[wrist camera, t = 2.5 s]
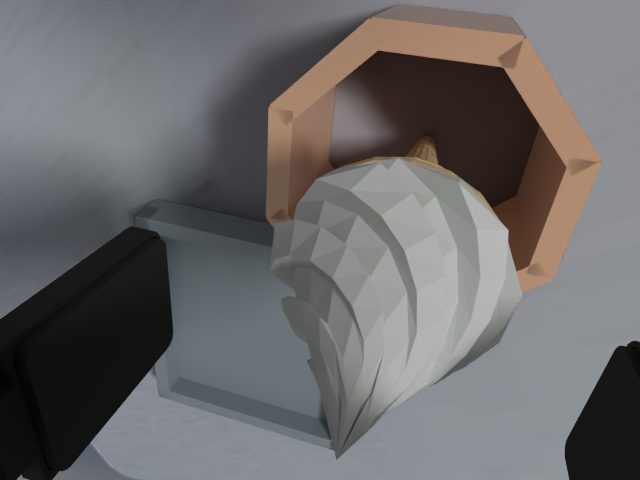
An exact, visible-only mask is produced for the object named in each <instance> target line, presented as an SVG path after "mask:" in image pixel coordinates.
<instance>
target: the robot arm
mask: <svg viewBox="0 0 640 480" xmlns="http://www.w3.org/2000/svg"><path fill="white" fill-rule="evenodd" d="M172 339H173V320H172V308H171V296H170V285H169V273H168V261H167V249H166V243H165V241H164V240H162V239H160V236H159V234H158V233H157V232H156V231H151V230H147V229H143V228H138V227H129V228H127V229H126V230H124V231H123V232H121V233H120V234H119V235H117V236H116V237H114V238H113V239H112V240H110V241H109V242H107V243H106V244H105V245H103V246H102V247H101V248H99V249H98V250H96V251H95V252H94V253H92V254H91V255H89V256H88V257H87V258H85V259H84V260H82V261H81V262H80V263H78V264H77V265H75V266H74V267H73V268H71V269H70V270H68V271H67V272H66V273H64V274H63V275H61V276H60V277H59V278H57V279H56V280H54V281H53V282H52V283H50V284H49V285H47V286H46V287H45V288H43V289H42V290H40V291H39V292H38V293H36V294H35V295H34V296H32V297H31V298H29V299H28V300H27V301H25V302H24V303H22V304H21V305H20V306H18V307H17V308H15V309H14V310H13V311H11V312H10V313H8V314H7V315H6V316H4V317H3V318H1V319H0V480H17V478H18V477H19V476H20V475H21V474H22V477H23V478H26V479H29V480H52V479H53V478H54V477H55V476H56V474H57V473H58V472H59V471H64V470H66V469H68V468H69V467H70V466H71V465H72V464H73V463H74V462H75V461H76V459H77V458H78V457H79V456H80V454H81V453H82V452H83V451H84V450H85V448H86V447H87V446H88V445H89V443H90V442H91V441H92V440H93V439H94V437H95V436H96V435H97V434H98V433H99V431H100V430H101V429H102V428H103V427H104V425H105V424H106V423H107V422H108V420H109V419H110V418H111V417H112V416H113V414H114V413H115V412H116V411H117V410H118V408H119V407H120V406H121V405H122V403H123V402H124V401H125V400H126V399H127V397H128V396H129V395H130V394H131V393H132V391H133V390H134V389H135V388H136V386H137V385H138V384H139V383H140V382H141V380H142V379H143V378H144V377H145V375H146V374H147V373H148V372H149V371H150V369H151V368H152V367H153V366H154V365H155V363H156V362H157V361H158V360H159V358H160V357H161V356H162V355H163V354H164V352H165V351H166V350H167V349H168V347H169V346H170V344H171V342H172ZM565 460H566V465H567V470H568V475H569V480H640V342H638V341H632V342H630V343H629V344H628V345H627V346H626V347H625V346H619V347H617V348H616V349H615V351H614V353H613V354H612V356H611V358H610V360H609V362H608V364H607V366H606V368H605V369H604V371H603V373H602V375H601V377H600V379H599V381H598V382H597V384H596V386H595V388H594V390H593V392H592V394H591V395H590V397H589V399H588V401H587V403H586V405H585V407H584V408H583V410H582V412H581V414H580V416H579V418H578V420H577V421H576V423H575V425H574V427H573V429H572V431H571V433H570V435H569V436H568V438H567V441H566V445H565Z"/></svg>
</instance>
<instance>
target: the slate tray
mask: <svg viewBox="0 0 640 480" xmlns="http://www.w3.org/2000/svg"><path fill="white" fill-rule="evenodd" d="M134 223H135V227H138V228H143V229H147V230H151V231H156V232H157V233H158V234H159V236H160V239H162V240H164V241H165V243H166V249H167V261H168V273H169V285H170V296H171V308H172V320H173V339H172V342H171V344H170V346H169V347H168V349H167V350H166V351H165V352H164V354H163V355H162V356H161V357H160V358H159V360H158V361H157V362H156V363H155V372H156V379H157V386H158V393H159V396H160V397H163V398H166V399H169V400H173V401H176V402H179V403H182V404H186V405H189V406H192V407H195V408H198V409H202V410H205V411H208V412H211V413H215V414H218V415H221V416H224V417H228V418H231V419H234V420H237V421H240V422H244V423H247V424H250V425H253V426H257V427H260V428H263V429H266V430H269V431H273V432H276V433H279V434H282V435H286V436H289V437H292V438H295V439H299V440H302V441H305V442H308V443H311V444H315V445H318V446H321V447H324V448H328V449H331V450H334V447H333V443H332V439H331V435H330V430H329V426H328V422H327V418H326V414H325V410H324V405H323V401H322V397H321V393H320V390H319V387H318V384H317V382H316V380H315V378H314V376H313V374H312V372H311V369H310V367H309V365H308V363H307V360H309V359H311V355H310V350H309V346H308V344H306V343H305V342H304V341H302V340H301V339H300V338H298V337H297V336H296V335H295V333H294V332H293V330H292V329H291V326H290V323H289V321H288V319H287V317H286V316H285V314H284V312H283V310H282V303H281V299H282V298H284V297H286V296H292V297H296V293H295V291H294V290H293V289H292V288H290V287H289V286H287V285H286V284H285V283H283V282H282V281H280V280H279V279H278V278H276V277H275V276H273V275H272V274H271V273H269V270H270V261H271V253H272V245H273V237H274V228H273V226H272V225H271V224H270V223H265V222H260V221H256V220H251V219H247V218H242V217H238V216H233V215H228V214H224V213H219V212H215V211H210V210H206V209H201V208H196V207H192V206H187V205H183V204H178V203H173V202H169V201H164V200H160V199H156V200H154V201H153V202H152V203H150V204H149V205H147V206H146V207H145V208H143V209H142V210H140V211H139V212H138V213H136V214H135V215H134ZM296 298H297V297H296Z"/></svg>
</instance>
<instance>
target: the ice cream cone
mask: <svg viewBox="0 0 640 480" xmlns="http://www.w3.org/2000/svg"><path fill="white" fill-rule="evenodd" d="M508 232H509V230H508V229H507V228H506V227H505V226H504V225H503V224H502V223H501V221H500V220H499V219H498V217H497V216H496V214H495V213H494V211H493V210H492V208H491V207H490V205H489V204H488V203H487V201H486V200H485V198H484V197H483V195H482V194H481V193H480V192H478V191H477V190H476V189H474V188H473V187H472V186H470V185H469V184H468V183H466V182H465V181H464V180H462V179H461V178H460V177H458V176H457V175H456V174H454V173H453V172H452V171H450V170H447V169H444V168H443V167H441V166H439V165H438V160H437V155H436V145H435V141H434V140H433V139H432V138H431V137H429V136H424V137H421V138H420V139H419V140H418V141H417V142H416V143H415V145H414V146H413V148H412V149H411V150H410V151H409V152H408V153H407V155H406V156H405V157H373V158H369V159H366V160H362V161H358V162H355V163H351V164H348V165H344V166H341V167H339V168H338V169H335V170H333V171H331V172H329V173H327V174H325V175H323V176H321V177H319V178H317V179H316V180H315V182H314V183H313V184H312V185H311V187H310V188H309V189H308V191H307V192H306V193H305V195H304V196H303V197H302V198H301V200H300V201H299V202H298V204H297V206H296V210H295V213H294V216H293V220H290V221H285V222H281V223H277V224H275V228H274V237H273V245H272V253H271V261H270V270H269V273H271V274H272V275H273V276H275V277H276V278H278V279H279V280H280V281H282V282H283V283H285V284H286V285H287V286H289V287H290V288H292V289H293V290H294V291H295V293H296V297H297V298H296V297H292V296H286V297H284V298H282V299H281V303H282V310H283V312H284V314H285V316H286V317H287V319H288V321H289V323H290V326H291V329H292V330H293V332H294V333H295V335H296V336H297V337H298V338H300V339H301V340H302V341H304V342H305V343H306V344H308V346H309V350H310V355H311V359H309V360H307V363H308V365H309V367H310V369H311V372H312V374H313V376H314V378H315V380H316V382H317V384H318V387H319V390H320V393H321V397H322V401H323V405H324V410H325V414H326V418H327V422H328V426H329V430H330V435H331V439H332V443H333V447H334V451H335V456H336V460H337V459H338V458H339V457H340V456H341V455H342V454H343V453H344V452H345V451H346V450H348V449H349V448H350V447H351V446H352V445H353V444H354V443H355V442H356V441H357V440H358V439H360V438H361V437H362V436H363V435H364V434H365V433H366V432H367V431H368V430H369V429H370V428H371V427H372V426H373V425H374V424H375V423H377V422H378V421H379V420H380V419H381V418H382V417H383V416H384V415H385V414H386V413H388V412H389V411H391V410H392V409H394V408H395V407H397V406H398V405H400V404H402V403H404V402H405V401H407V400H409V399H410V398H412V397H414V396H415V395H417V394H418V393H420V392H421V391H423V390H425V389H426V388H428V387H429V386H432V385H434V384H436V383H438V382H439V381H441V380H442V379H444V378H445V377H447V376H449V375H450V374H452V373H453V372H455V371H458V370H460V369H462V368H464V367H466V366H467V365H468V364H470V363H471V362H473V361H474V360H475V359H477V358H478V357H480V356H481V355H482V354H484V353H485V352H487V351H488V350H489V349H491V348H492V347H494V346H495V345H497V344H498V343H499V342H500V340H501V338H502V336H503V334H504V332H505V330H506V327H507V325H508V323H509V321H510V319H511V317H512V315H513V313H514V311H515V309H516V307H517V305H518V303H519V301H520V299H521V297H522V291H521V287H520V284H519V280H518V276H517V273H516V269H515V265H514V262H513V258H512V254H511V251H510V247H509V243H508Z"/></svg>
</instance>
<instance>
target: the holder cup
mask: <svg viewBox="0 0 640 480" xmlns="http://www.w3.org/2000/svg"><path fill="white" fill-rule="evenodd" d="M378 50H379V51H386V52H394V53H401V54H408V55H416V56H423V57H430V58H438V59H445V60H453V61H460V62H467V63H475V64H482V65H489V66H497V67H503V68H504V69H505V71H506V73H507V74H508V76H509V77H510V79H511V80H512V82H513V84H514V85H515V87H516V88H517V90H518V92H519V93H520V95H521V96H522V98H523V99H524V101H525V103H526V104H527V106H528V107H529V109H530V110H531V112H532V114H533V115H534V117H535V118H536V120H537V122H538V123H539V125H540V126H539V129H538V132H537V135H536V138H535V141H534V144H533V147H532V150H531V153H530V156H529V159H528V162H527V165H526V168H525V171H524V174H523V177H522V180H521V183H520V186H519V189H518V192H517V195H516V196H514V197H512V198H511V199H509V200H507V201H505V202H503V203H501V204H499V205H497V206H495V207H493V208H492V210H493V211H494V213H495V214H496V216H497V217H498V219H499V220H500V221H501V223H502V224H503V225H504V226H505V227H506V228H507V229H508V230H509V232H508V243H509V247H510V251H511V254H512V258H513V262H514V265H515V269H516V273H517V276H518V280H519V284H520V287H521V291H522V293H524V292H526V291H528V290H531V289H533V288H536V287H538V286H541V285H543V284H545V283H548V282H550V281H551V279H552V280H553V278H554V276H555V273H556V271H557V269H558V266H559V264H560V261H561V259H562V257H563V254H564V252H565V250H566V247H567V245H568V242H569V240H570V238H571V235H572V233H573V231H574V228H575V226H576V224H577V221H578V219H579V216H580V214H581V212H582V209H583V207H584V205H585V202H586V200H587V197H588V195H589V193H590V190H591V188H592V186H593V183H594V181H595V178H596V176H597V174H598V171H599V169H600V167H601V164H602V162H601V161H602V160H601V158H600V156H599V155H598V153H597V152H596V150H595V148H594V147H593V145H592V143H591V142H590V140H589V138H588V137H587V135H586V133H585V132H584V130H583V129H582V127H581V125H580V124H579V122H578V120H577V119H576V117H575V115H574V114H573V112H572V111H571V109H570V107H569V106H568V104H567V102H566V101H565V99H564V97H563V96H562V94H561V92H560V91H559V89H558V88H557V86H556V84H555V83H554V81H553V79H552V78H551V76H550V74H549V73H548V71H547V69H546V68H545V66H544V65H543V63H542V61H541V60H540V58H539V56H538V55H537V53H536V51H535V50H534V48H533V46H532V45H531V43H530V42H529V40H528V38H527V37H526V35H525V34H524V33H523V31H522V30H521V29H520V27H519V26H518V25H517V23H516V22H515V21H514V19H513V18H511V17H508V16H499V15H491V14H482V13H473V12H465V11H456V10H447V9H438V8H430V7H421V6H412V5H404V4H398V5H396V6H394V7H391V8H389V9H387V10H385V11H383V12H381V13H379V14H376V15H374V16H372V17H370V18H368V19H367V20H366V21H365V22H364V23H363V24H362V25H360V26H359V27H358V28H357V29H356V30H355V31H354V32H352V33H351V34H350V35H349V36H348V37H347V38H346V39H344V40H343V41H342V42H341V43H340V44H339V45H338V46H336V47H335V48H334V49H333V50H332V51H331V52H330V53H328V54H327V55H326V56H325V57H324V58H323V59H322V60H320V61H319V62H318V63H317V64H316V65H315V66H314V67H312V68H311V69H310V70H309V71H308V72H307V73H306V74H304V75H303V76H302V77H301V78H300V79H299V80H298V81H297V82H295V83H294V84H293V85H292V86H291V87H290V88H289V89H287V90H286V91H285V92H284V93H283V94H282V95H281V96H279V97H278V98H277V99H276V100H275V101H274V102H273V103H271V104H270V107H269V110H268V149H267V188H266V218H267V221H268V222H269V223H270V224H271V225H272V226H273V228H275V224H277V223H281V222H285V221H290V220H293V216H294V213H295V210H296V206H297V204H298V202H299V201H300V200H301V198H302V197H303V196H304V195H305V193H306V192H307V191H308V189H309V188H310V187H311V185H312V184H313V183H314V182H315V180H316V179H317V178H319V177H321V176H323V175H325V174H327V173H329V172H331V171H333V170H335V168H334V167H333V165H332V164H331V163H330V161H329V154H330V144H331V133H332V123H333V113H334V103H335V93H336V85H337V84H338V83H339V82H340V81H341V80H343V79H344V78H345V77H346V76H348V75H349V74H350V73H351V72H352V71H354V70H355V69H356V68H357V67H358V66H360V65H361V64H362V63H363V62H365V61H366V60H367V59H368V58H369V57H371V56H372V55H373V54H374V53H376V52H377V51H378Z"/></svg>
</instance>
